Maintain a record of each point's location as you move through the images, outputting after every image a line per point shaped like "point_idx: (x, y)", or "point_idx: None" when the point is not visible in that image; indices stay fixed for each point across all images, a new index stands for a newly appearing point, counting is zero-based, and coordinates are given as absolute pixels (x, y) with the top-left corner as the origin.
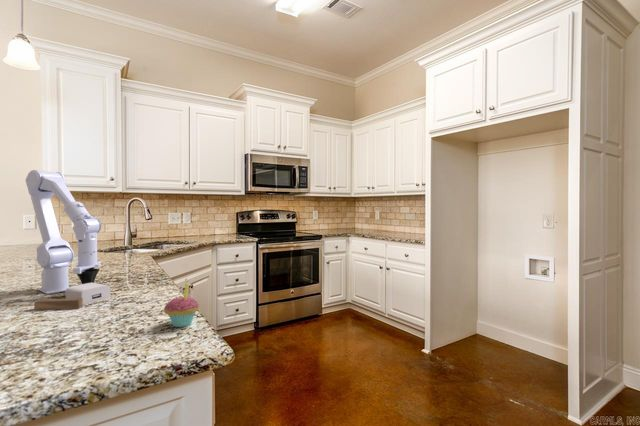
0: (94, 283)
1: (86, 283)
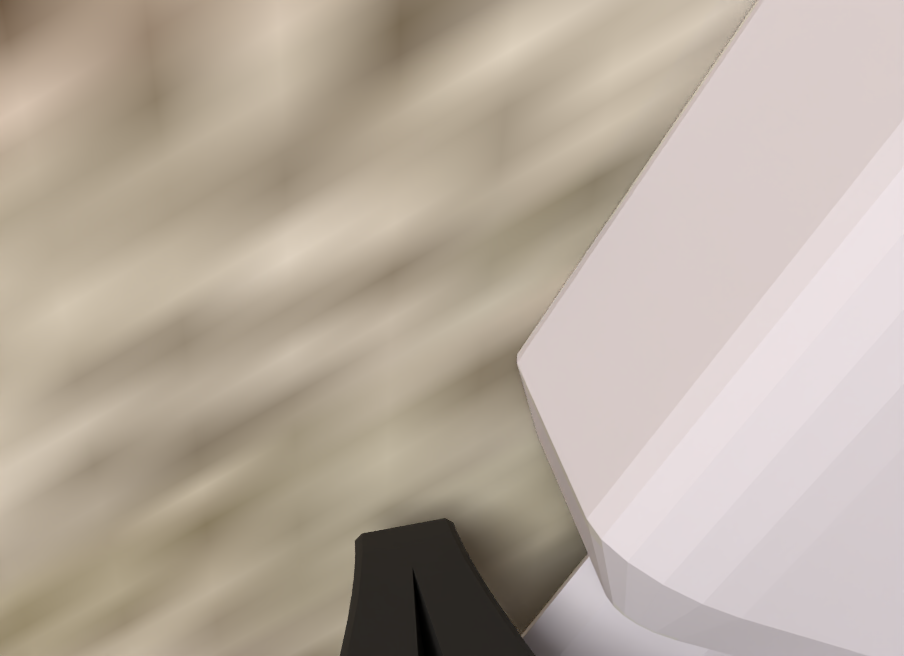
0: (877, 445)
1: (813, 633)
